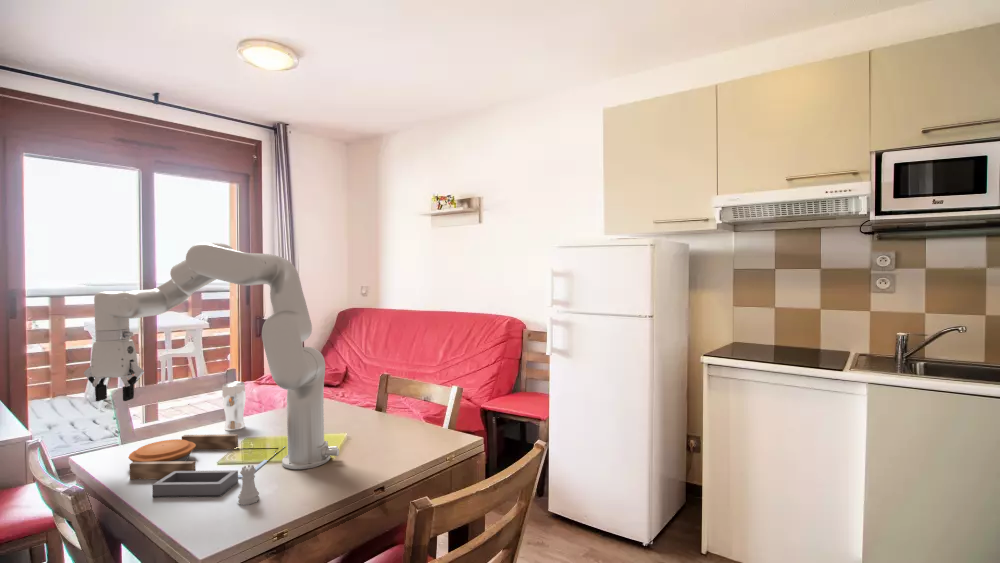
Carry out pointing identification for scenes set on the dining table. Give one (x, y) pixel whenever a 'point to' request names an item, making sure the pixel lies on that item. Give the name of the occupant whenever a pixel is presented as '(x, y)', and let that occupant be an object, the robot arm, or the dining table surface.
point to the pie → (163, 451)
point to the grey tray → (195, 484)
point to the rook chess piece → (248, 487)
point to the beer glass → (234, 405)
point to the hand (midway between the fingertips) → (114, 399)
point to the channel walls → (165, 468)
